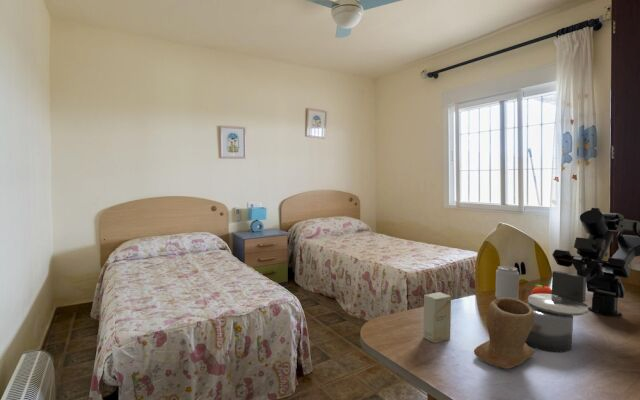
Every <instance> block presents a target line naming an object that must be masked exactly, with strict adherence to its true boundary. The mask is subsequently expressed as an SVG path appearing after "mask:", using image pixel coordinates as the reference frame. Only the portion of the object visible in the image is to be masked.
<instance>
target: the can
mask: <svg viewBox="0 0 640 400" xmlns="http://www.w3.org/2000/svg"><path fill="white" fill-rule="evenodd" d="M519 286H520V272H519V270H518V268H517V267H515V266H510V265H509V266H508V265H500V266H497V269H496V270H495V294H494V295H495V296H494V297H495V299H497V298H501V297H508V298H514V299H518V300H519V292H520V291H519V289H520V287H519Z"/></svg>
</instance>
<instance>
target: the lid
mask: <svg viewBox="0 0 640 400" xmlns="http://www.w3.org/2000/svg"><path fill="white" fill-rule="evenodd" d="M551 275H552V276H551V277H552V280H551V290H552V294H532V295H531V294H530V295H528V297H527V304H528V303H529V304H530V305H531V306H533V307H535V308H537V309H539V310H542V311H546V312H550V313H554V314H560V315H571V316H573V317H575V316H578V317H579V316H583V315H586V314H587V315H588V312H589V309H588V307H589V306H588V304H586V303H585V302H586V292H587V284H586V277H585V276H580V275H577V274H574V273H568V272H564V271H559V270H552V273H551Z"/></svg>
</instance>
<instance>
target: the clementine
mask: <svg viewBox="0 0 640 400" xmlns="http://www.w3.org/2000/svg"><path fill="white" fill-rule="evenodd" d="M534 286H535V287H534ZM529 288H530V289H529V290H531V289H532V288H533V289H532V290H531V293H530V295H532V294H552V288H550V287H549V286H546V285H541V284H534V285H532V286H531V287H529Z"/></svg>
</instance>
